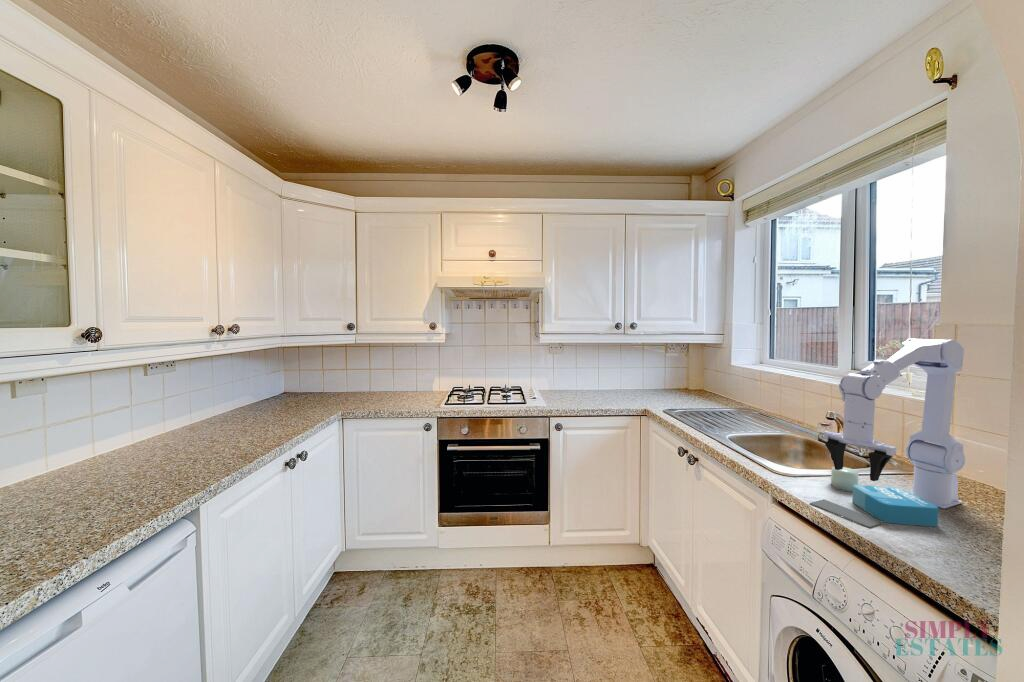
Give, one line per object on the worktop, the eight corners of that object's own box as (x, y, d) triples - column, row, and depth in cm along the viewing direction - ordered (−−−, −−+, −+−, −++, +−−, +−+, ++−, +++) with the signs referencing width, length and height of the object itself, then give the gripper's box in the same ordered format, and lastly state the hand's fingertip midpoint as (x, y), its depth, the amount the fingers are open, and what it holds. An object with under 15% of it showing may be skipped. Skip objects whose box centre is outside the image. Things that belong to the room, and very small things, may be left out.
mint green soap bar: (838, 481, 118) (839, 465, 118) (862, 489, 113) (863, 472, 113) (826, 484, 116) (827, 468, 116) (850, 492, 110) (850, 475, 110)
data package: (850, 484, 105) (901, 487, 103) (849, 500, 105) (900, 504, 103) (884, 504, 93) (942, 508, 91) (883, 522, 94) (941, 527, 92)
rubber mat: (824, 500, 105) (824, 499, 105) (884, 523, 93) (884, 522, 93) (809, 504, 103) (809, 502, 103) (869, 528, 91) (869, 526, 91)
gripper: (816, 416, 104) (814, 466, 104) (885, 430, 90) (882, 488, 91) (833, 414, 106) (831, 463, 107) (902, 427, 93) (899, 483, 94)
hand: (855, 474), depth 99 cm, fingers open, 7 cm apart
